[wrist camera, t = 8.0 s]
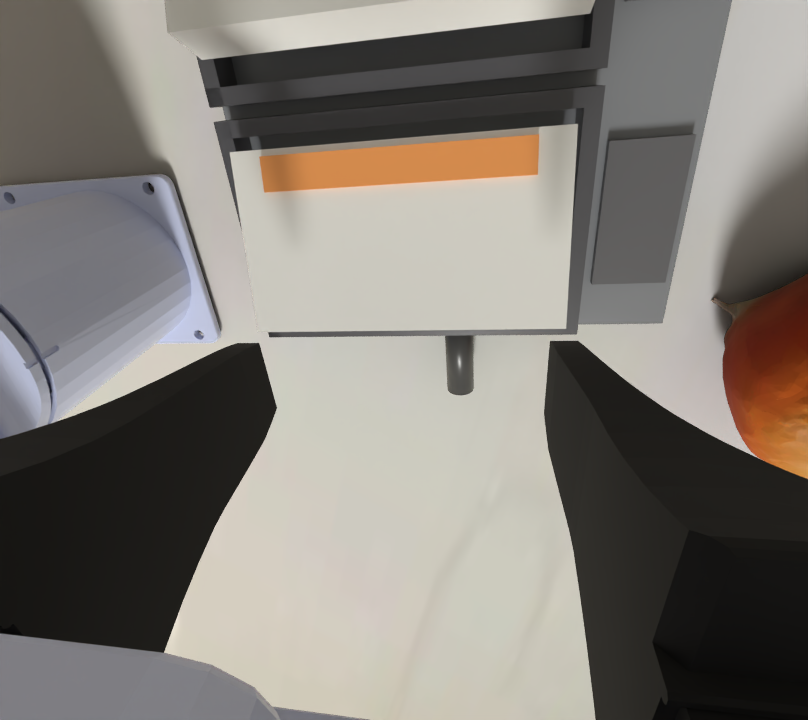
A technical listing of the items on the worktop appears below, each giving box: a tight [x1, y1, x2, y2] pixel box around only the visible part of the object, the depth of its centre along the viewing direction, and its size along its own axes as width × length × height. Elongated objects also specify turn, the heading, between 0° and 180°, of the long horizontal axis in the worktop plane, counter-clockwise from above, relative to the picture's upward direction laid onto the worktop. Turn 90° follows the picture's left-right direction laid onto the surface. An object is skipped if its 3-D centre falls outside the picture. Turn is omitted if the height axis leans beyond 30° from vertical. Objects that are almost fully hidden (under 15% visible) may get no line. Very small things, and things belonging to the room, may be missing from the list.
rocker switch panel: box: [197, 0, 732, 395], centre depth 14 cm, size 15×28×4 cm, turn 5°
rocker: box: [230, 124, 578, 332], centre depth 15 cm, size 10×6×2 cm, turn 95°
